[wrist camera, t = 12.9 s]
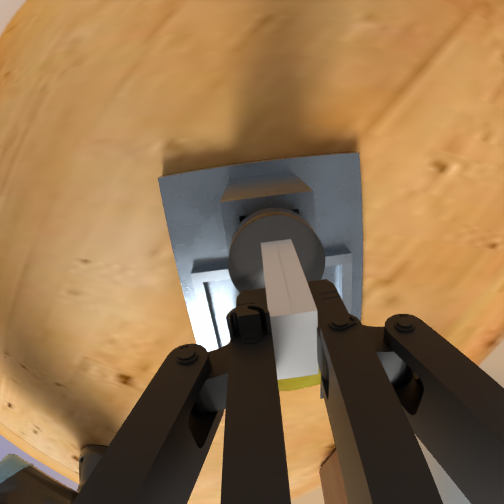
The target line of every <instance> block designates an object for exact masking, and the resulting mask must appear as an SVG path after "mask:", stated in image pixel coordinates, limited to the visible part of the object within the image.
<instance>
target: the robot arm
mask: <svg viewBox="0 0 504 504" xmlns="http://www.w3.org/2000/svg"><path fill="white" fill-rule="evenodd" d="M261 250H262V259H263V269H264V278H265V287H266V288H261V289H253V290H245V291H241V293H240V294H239V295H238V296H237V298H236V308H233V309H232V310H231V311H230V312H228V314H227V316H226V321H227V325H228V330H229V335H230V342H229V343H228V344H226V345H225V346H223V347H221V348H218V349H215V350H212V351H209V352H207V349H206V348H205V347H203V346H202V345H198V344H186V345H182V346H179V347H177V348H175V349H174V350H172V351H171V352H170V354H169V355H168V356H167V358H166V359H165V361H164V362H163V364H162V365H161V367H160V368H159V370H158V371H157V373H156V374H155V376H154V377H153V379H152V380H151V382H150V383H149V385H148V386H147V388H146V389H145V391H144V393H143V394H142V396H141V397H140V399H139V400H138V402H137V403H136V405H135V406H134V408H133V409H132V411H131V412H130V414H129V416H128V417H127V419H126V420H125V422H124V423H123V425H122V426H121V428H120V429H119V431H118V432H117V434H116V436H115V437H114V439H113V440H112V442H111V443H110V445H109V446H108V447H105V446H99V445H89V446H86V447H84V448H83V449H82V452H81V454H80V457H79V486H78V489H77V492H76V491H74V490H72V489H71V488H69V487H67V486H66V485H64V484H62V483H60V482H59V481H57V480H55V479H54V478H52V477H50V476H49V475H47V474H46V473H44V472H42V471H41V470H39V469H38V468H36V467H34V465H33V464H31V463H28V462H27V461H25V460H24V459H22V458H21V457H19V456H17V455H15V454H8V455H7V456H5V457H4V458H3V459H2V460H1V462H0V504H187V502H188V500H189V497H190V495H191V493H192V490H193V488H194V485H195V483H196V481H197V478H198V476H199V473H200V471H201V468H202V466H203V464H204V461H205V459H206V456H207V454H208V451H209V449H210V446H211V444H212V441H213V439H214V436H215V434H216V431H217V429H218V426H219V423H220V421H221V418H222V416H223V413H224V409H226V414H225V431H224V448H223V467H222V486H221V504H291V499H290V489H289V480H288V470H287V461H286V451H285V442H284V433H283V423H282V414H281V405H280V396H279V388H278V380H280V379H288V378H295V377H302V376H309V375H316V374H318V365H319V369H320V373H321V396H320V399H321V398H324V400H325V404H326V408H327V412H328V416H329V421H330V425H331V429H332V433H333V437H334V442H335V446H336V450H337V455H338V459H339V464H340V468H341V473H342V477H343V482H344V486H345V491H346V496H347V500H348V504H443V502H442V500H441V497H440V495H439V492H438V489H437V487H436V484H435V482H434V479H433V477H432V474H431V472H430V469H429V467H428V464H427V462H426V460H425V457H424V455H423V453H422V450H421V448H420V445H419V443H418V441H417V439H416V436H417V437H418V438H419V439H420V440H421V442H422V443H423V444H424V445H425V447H426V448H427V449H428V451H429V452H430V453H431V454H432V455H433V457H434V458H435V459H436V460H437V462H438V463H439V464H440V465H441V466H442V468H443V469H444V470H445V471H446V473H447V474H448V475H449V476H450V478H451V479H452V480H453V481H454V483H455V484H456V485H457V486H458V488H459V489H460V490H461V491H462V493H463V494H464V495H465V496H466V498H467V499H468V500H469V501H470V503H471V504H504V388H503V387H502V386H500V385H499V384H498V383H497V382H496V381H495V380H494V379H492V378H491V377H490V376H489V375H488V374H487V373H485V372H484V371H483V370H482V369H480V368H479V367H478V366H477V365H476V364H475V363H474V362H472V361H471V360H470V359H469V358H468V357H466V356H465V355H464V354H463V353H462V352H460V351H459V350H458V349H457V348H455V347H454V346H453V345H452V344H451V343H449V342H448V341H447V340H446V339H444V338H443V337H442V336H441V335H439V334H438V333H437V332H436V331H434V330H433V329H432V328H431V327H429V326H428V325H427V324H426V323H424V322H423V321H422V320H421V319H419V318H417V317H415V316H413V315H409V314H397V315H393V316H391V317H390V318H388V319H387V321H386V322H385V327H371V326H365V325H362V324H361V322H360V320H359V319H358V318H357V317H355V316H353V315H351V314H349V312H348V310H347V308H346V306H345V304H344V302H343V300H342V299H341V297H340V295H339V293H338V291H337V289H336V287H335V285H334V284H333V283H332V282H330V281H329V280H327V279H323V280H316V281H308V282H307V281H306V278H305V275H304V272H303V270H302V267H301V264H300V262H299V259H298V256H297V254H296V251H295V248H294V246H293V243H292V240H291V239H287V240H279V241H272V242H264V243H261ZM414 433H415V434H416V436H415V434H414Z"/></svg>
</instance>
